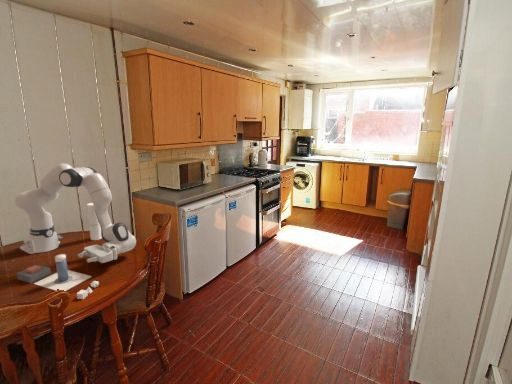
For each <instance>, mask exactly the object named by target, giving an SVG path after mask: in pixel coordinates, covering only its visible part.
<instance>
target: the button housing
mask: <svg viewBox="0 0 512 384" xmlns="http://www.w3.org/2000/svg"><path fill="white" fill-rule="evenodd" d="M35 265H36V266H40V267H41V270H39V271H37V272H34V273H32V274H31V273H28V272H26V269H27V268H26V269H22V270H21V271H18V272H16V279H17V280H19V281H22V282H25V283H29V284H34V283H36V281H37V282H38V281H40V280H42V279H44V278H47V277H49V276H51V275H52V271H51V268H50V267H48V266H45V265H44V266H43V265H40V264H35Z"/></svg>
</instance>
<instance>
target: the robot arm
mask: <svg viewBox="0 0 512 384" xmlns="http://www.w3.org/2000/svg"><path fill="white" fill-rule="evenodd" d="M39 185H40V186H39V187H36V188H33V189H28V190H25V191H22V192H20V193H18V194H16V196H15V197H14V204H15V206H16V207H17V208H18V209H20V210H23V211H24V212H25V214H26V215H27V216H28V219H29V223H30V228H29V229H28V230H29V234H28V235H27V236H26V237H25V238H24V239H23V245H21V246H20V247H19V249H20V250H21V251H23V252H26V253H27V254H30V255H31V254H32V255H33V254H36V253H37V254H38V253H39V254H40V253H45V252H50V251H53V250H55V249H57V248H59V247H60V244H61V241H59V239H58V238H57V234H58V233H57V232H56V231H55V230H56V229H55V225H54V223H53V216H52V214H51V212H49V211H46V210H45V208H44V206H46V205H49V204H52V203H53V202H56V201H57V200H58V199H59V196H60V195H59V193H60V191H61V190H62V189H63V188H64V187H65V188H66V187H67V188H79V187H84V188H85V189H86V191H87V192H88V195H89V197H90V200H91V203H93V205H94V209H95V212H96V215H97V218H98V221H99V224H100V227H101V236H102V238H101V239H102V240H103V241H104V243H102V244H101V245H100V244H93V245H89V246H85V247H84V248H83V251H82V252H80V253H78V254H77V256H78V258H83V257H84V256H87V257H88V258H86V262H87V263H91V262H92V263H93V262H99V263H100V264H104V263H107V262H108V263H109V262H111V261H113V260H114V261H115V260H117V259H118V255H119V254H124V253H126V252H128V251H131V250H133V249H134V248H135V247H136V245H137V239H136V236H134V235H133V234H132V233H131V232H130V231H129V229H128V226H127V225H126V224H125V223H123V222H115V223H112V221H111V217H110V215H109V212H108V211H109V210H108V209H109V206H110V204H111V202H112V201H113V200H112V199H113V196H112V195H113V194H112V192H111V189H110V187H109V185H108V183H107V181H106V180H105V178H104V177H103V175H102V174H101V173H99V172H97V170H96V169H95V168H94V167H90V166H83V167H82V166H77V167H73V166H72V165H71V164H69V163H65V162H62V163H59V164H57V165H56V166H55V167H53V168H52V169H51V170H49V172H47V173H46V174H45V175H44V177H42V179H40V181H39Z"/></svg>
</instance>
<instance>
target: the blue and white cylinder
mask: <svg viewBox="0 0 512 384" xmlns="http://www.w3.org/2000/svg"><path fill="white" fill-rule="evenodd" d="M54 261H55V266H56V273H57V275H58V281H59V282H64V281H67V280H68V279H69V277H68V270H69V269H68V264H67V262H68V261H67V254H65V253H61V254H57V255H55V256H54Z"/></svg>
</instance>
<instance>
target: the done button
mask: <svg viewBox="0 0 512 384" xmlns="http://www.w3.org/2000/svg"><path fill="white" fill-rule="evenodd" d="M36 265H37V264H34V265H32V266H29V267H27V268H26V272H28V273H31V274H32V273H34V272H37V271H39V270H41V267H40V266H36Z"/></svg>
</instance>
